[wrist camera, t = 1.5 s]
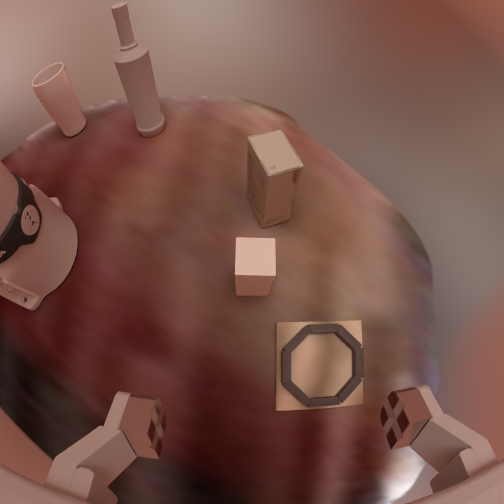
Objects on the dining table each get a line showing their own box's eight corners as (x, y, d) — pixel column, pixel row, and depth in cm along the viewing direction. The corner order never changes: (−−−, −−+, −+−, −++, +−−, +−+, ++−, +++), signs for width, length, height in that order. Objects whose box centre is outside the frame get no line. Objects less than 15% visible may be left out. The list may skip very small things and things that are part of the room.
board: (275, 409, 33) (277, 412, 31) (275, 323, 37) (278, 320, 35) (359, 403, 33) (367, 405, 31) (358, 321, 37) (365, 318, 35)
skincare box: (290, 220, 42) (306, 168, 31) (261, 229, 41) (269, 178, 30) (272, 184, 44) (281, 127, 33) (244, 192, 44) (246, 135, 32)
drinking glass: (61, 145, 47) (28, 92, 33) (61, 125, 49) (33, 73, 35) (91, 131, 48) (62, 73, 34) (89, 111, 50) (65, 57, 36)
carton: (236, 295, 38) (235, 274, 30) (237, 265, 40) (236, 237, 31) (267, 296, 38) (275, 275, 30) (267, 266, 40) (275, 238, 31)
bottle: (133, 137, 47) (92, 16, 24) (144, 117, 49) (112, 1, 26) (160, 139, 47) (126, 10, 24) (170, 118, 49) (145, -5, 26)
